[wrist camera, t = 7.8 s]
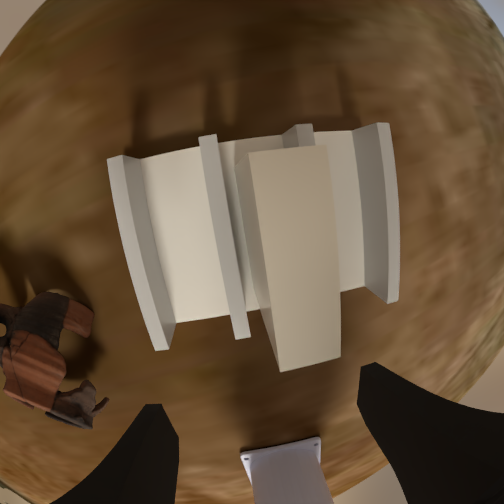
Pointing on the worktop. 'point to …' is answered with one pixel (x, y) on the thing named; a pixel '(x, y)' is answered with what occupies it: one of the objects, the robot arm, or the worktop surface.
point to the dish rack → (231, 226)
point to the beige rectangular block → (293, 251)
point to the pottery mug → (46, 358)
